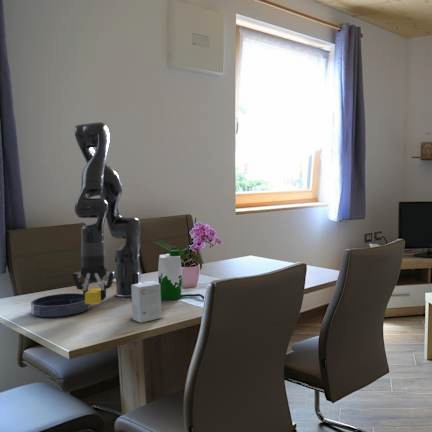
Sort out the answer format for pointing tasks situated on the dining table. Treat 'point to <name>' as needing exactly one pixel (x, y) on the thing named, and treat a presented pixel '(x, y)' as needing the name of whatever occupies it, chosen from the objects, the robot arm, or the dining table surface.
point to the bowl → (59, 305)
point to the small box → (146, 301)
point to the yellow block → (93, 296)
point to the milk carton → (170, 275)
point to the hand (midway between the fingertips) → (94, 299)
